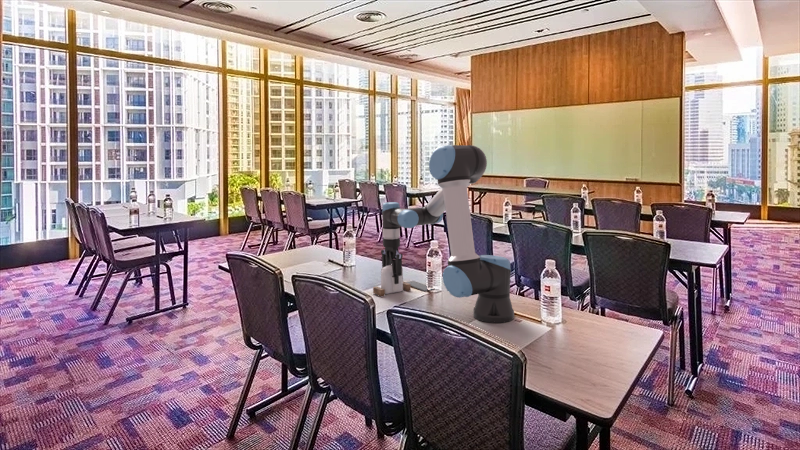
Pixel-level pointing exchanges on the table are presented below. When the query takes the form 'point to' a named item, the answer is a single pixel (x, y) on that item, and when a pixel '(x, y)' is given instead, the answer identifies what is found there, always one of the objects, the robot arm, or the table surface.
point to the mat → (418, 285)
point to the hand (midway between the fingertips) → (392, 289)
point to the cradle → (381, 291)
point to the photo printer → (390, 280)
